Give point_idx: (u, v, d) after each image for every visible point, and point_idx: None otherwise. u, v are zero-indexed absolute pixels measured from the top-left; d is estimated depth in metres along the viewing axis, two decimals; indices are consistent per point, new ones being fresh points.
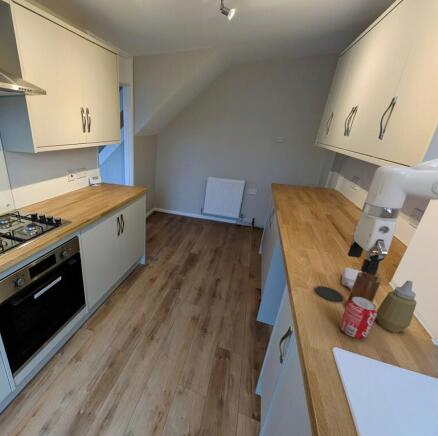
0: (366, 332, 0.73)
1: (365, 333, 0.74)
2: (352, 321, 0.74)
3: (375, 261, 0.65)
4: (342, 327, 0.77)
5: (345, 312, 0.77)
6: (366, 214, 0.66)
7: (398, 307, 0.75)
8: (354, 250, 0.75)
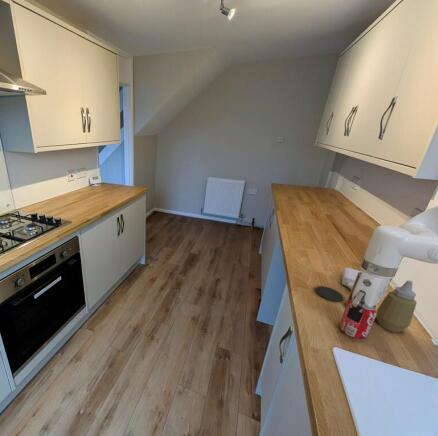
0: (366, 332, 0.73)
1: (365, 333, 0.74)
2: (352, 321, 0.74)
3: (355, 310, 0.71)
4: (342, 327, 0.77)
5: (345, 312, 0.77)
6: (360, 266, 0.72)
7: (398, 307, 0.75)
8: None
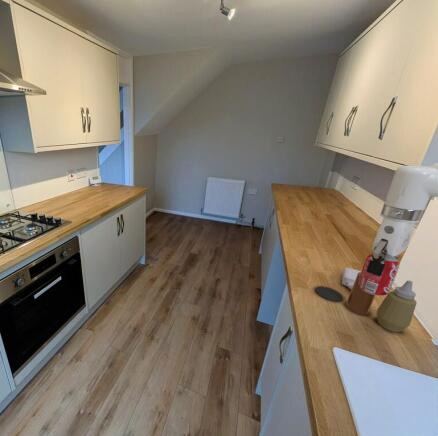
0: (388, 287, 0.67)
1: (387, 288, 0.68)
2: (373, 275, 0.68)
3: (376, 262, 0.66)
4: (361, 285, 0.71)
5: (364, 268, 0.71)
6: (380, 214, 0.66)
7: (398, 307, 0.75)
8: None
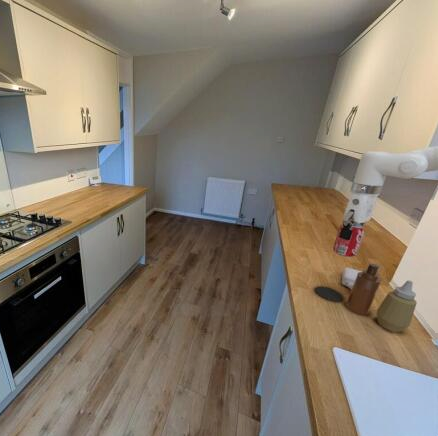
0: (355, 249, 0.84)
1: (355, 250, 0.84)
2: (344, 240, 0.85)
3: (346, 228, 0.82)
4: (335, 249, 0.88)
5: (337, 235, 0.88)
6: None
7: (398, 307, 0.75)
8: None
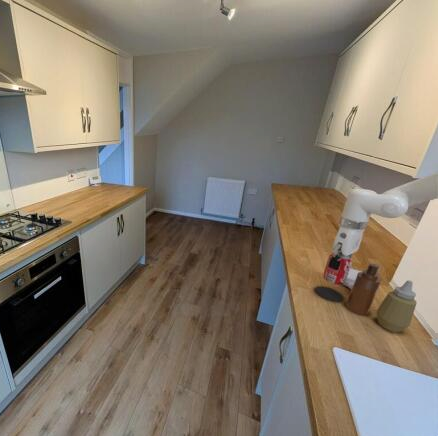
0: (344, 278, 0.90)
1: (343, 279, 0.90)
2: (333, 269, 0.90)
3: (335, 259, 0.88)
4: (325, 277, 0.94)
5: (327, 264, 0.93)
6: (339, 223, 0.88)
7: (398, 307, 0.75)
8: None
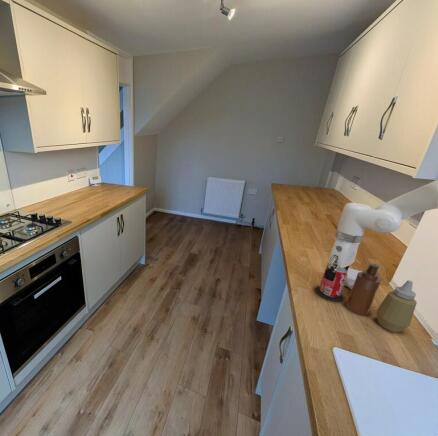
0: (339, 291, 0.92)
1: (338, 292, 0.92)
2: (328, 282, 0.92)
3: (330, 270, 0.89)
4: (321, 289, 0.96)
5: (323, 276, 0.95)
6: None
7: (398, 307, 0.75)
8: None
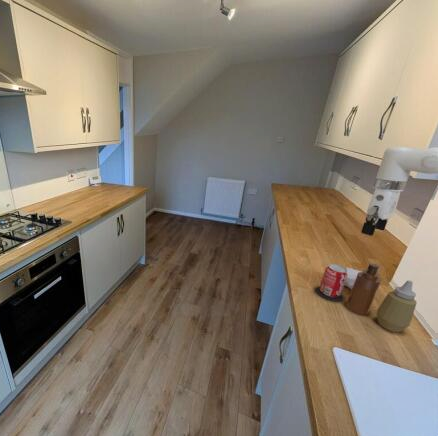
0: (339, 291, 0.92)
1: (338, 292, 0.92)
2: (328, 282, 0.92)
3: (369, 223, 0.81)
4: (321, 289, 0.96)
5: (323, 276, 0.95)
6: (373, 186, 0.82)
7: (398, 307, 0.75)
8: (377, 223, 0.87)
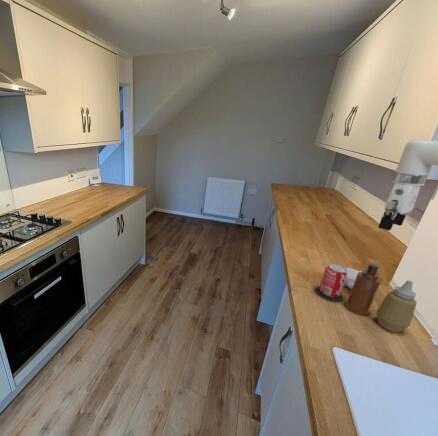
0: (339, 291, 0.92)
1: (338, 292, 0.92)
2: (328, 282, 0.92)
3: (387, 218, 0.80)
4: (321, 289, 0.96)
5: (323, 276, 0.95)
6: (392, 180, 0.81)
7: (398, 307, 0.75)
8: (395, 218, 0.87)
